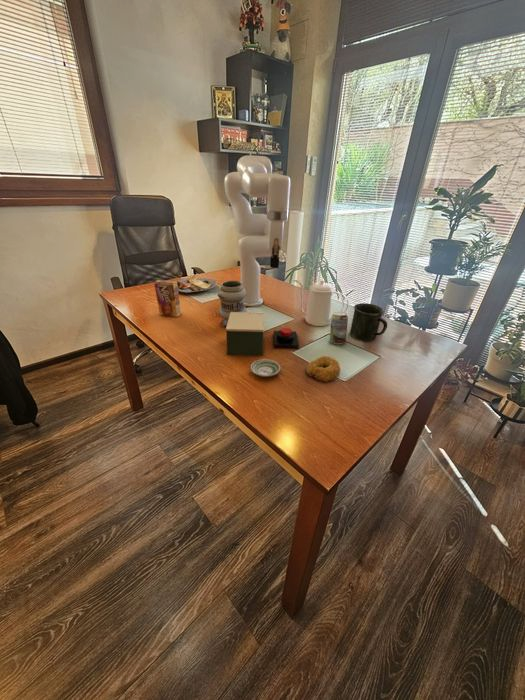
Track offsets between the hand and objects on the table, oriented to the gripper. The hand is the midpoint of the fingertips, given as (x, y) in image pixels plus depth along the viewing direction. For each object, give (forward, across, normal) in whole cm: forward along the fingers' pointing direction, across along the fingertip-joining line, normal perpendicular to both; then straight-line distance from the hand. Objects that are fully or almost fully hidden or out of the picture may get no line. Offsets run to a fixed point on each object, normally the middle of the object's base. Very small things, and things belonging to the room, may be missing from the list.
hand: (274, 267), depth 113 cm
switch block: (+24, +15, +6) cm, 29 cm away
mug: (+24, +10, +38) cm, 46 cm away
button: (+21, +15, +5) cm, 27 cm away
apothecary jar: (+25, +1, -16) cm, 30 cm away
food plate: (+27, -44, -43) cm, 68 cm away
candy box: (+26, -7, -46) cm, 53 cm away
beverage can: (+24, +14, +26) cm, 38 cm away
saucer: (+24, +37, -2) cm, 44 cm away
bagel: (+24, +36, +16) cm, 46 cm away
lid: (+14, +19, -10) cm, 26 cm away
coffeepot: (+25, -4, +20) cm, 32 cm away
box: (+24, +19, -10) cm, 33 cm away
